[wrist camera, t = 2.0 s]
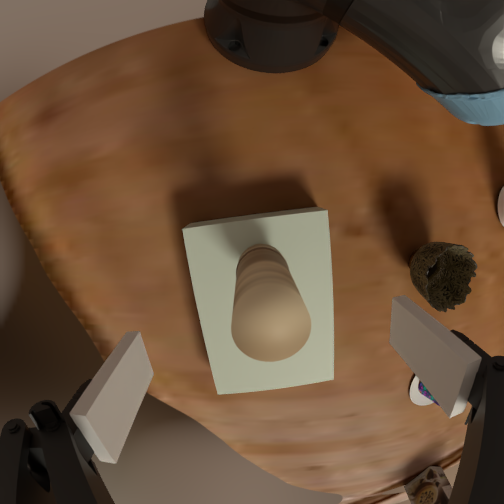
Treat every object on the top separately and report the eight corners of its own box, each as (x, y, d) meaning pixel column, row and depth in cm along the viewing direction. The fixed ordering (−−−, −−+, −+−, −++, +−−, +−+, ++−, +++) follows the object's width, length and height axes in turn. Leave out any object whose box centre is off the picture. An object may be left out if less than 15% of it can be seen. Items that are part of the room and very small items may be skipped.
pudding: (426, 410, 40) (438, 428, 35) (395, 388, 38) (408, 408, 33) (472, 362, 38) (488, 377, 33) (448, 331, 36) (466, 347, 31)
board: (190, 223, 32) (182, 228, 28) (317, 206, 32) (327, 210, 28) (220, 375, 36) (217, 394, 32) (326, 361, 36) (333, 379, 32)
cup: (428, 293, 34) (462, 316, 26) (386, 282, 34) (418, 307, 26) (446, 240, 33) (484, 254, 25) (405, 224, 32) (442, 237, 24)
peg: (234, 240, 28) (223, 295, 15) (280, 234, 28) (310, 284, 14) (241, 284, 29) (236, 367, 16) (284, 278, 29) (314, 356, 15)
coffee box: (429, 465, 45) (453, 510, 30) (441, 466, 46) (464, 508, 30) (402, 486, 47) (421, 531, 31) (415, 487, 48) (434, 528, 32)
